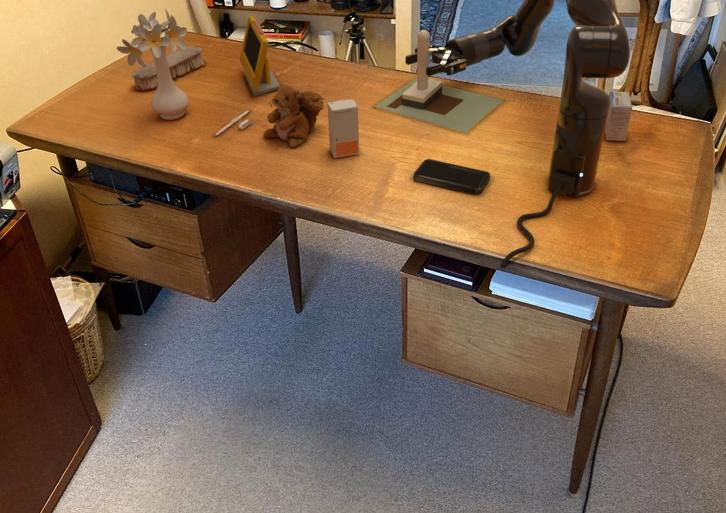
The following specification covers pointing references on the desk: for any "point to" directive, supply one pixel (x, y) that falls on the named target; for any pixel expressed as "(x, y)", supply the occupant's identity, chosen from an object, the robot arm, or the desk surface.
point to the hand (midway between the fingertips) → (416, 66)
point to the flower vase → (159, 61)
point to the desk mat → (445, 107)
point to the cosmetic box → (343, 128)
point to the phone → (452, 176)
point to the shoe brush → (177, 66)
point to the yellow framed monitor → (257, 60)
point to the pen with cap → (241, 126)
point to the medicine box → (618, 116)
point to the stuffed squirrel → (293, 114)
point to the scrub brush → (422, 78)
